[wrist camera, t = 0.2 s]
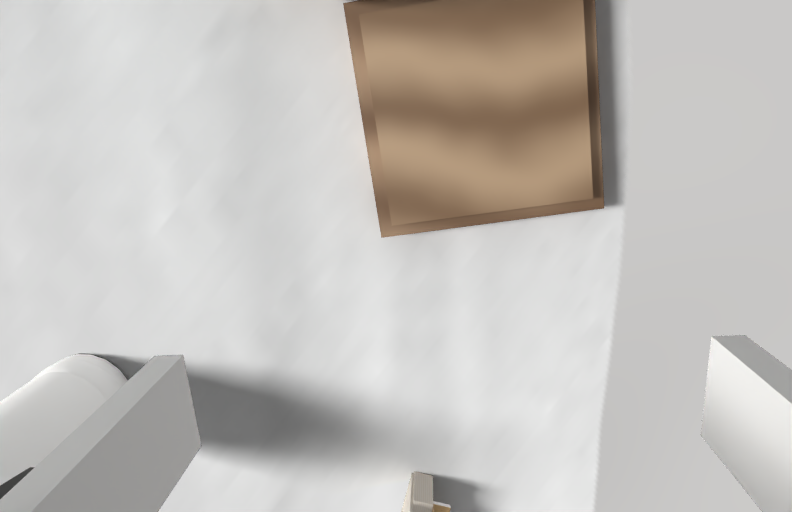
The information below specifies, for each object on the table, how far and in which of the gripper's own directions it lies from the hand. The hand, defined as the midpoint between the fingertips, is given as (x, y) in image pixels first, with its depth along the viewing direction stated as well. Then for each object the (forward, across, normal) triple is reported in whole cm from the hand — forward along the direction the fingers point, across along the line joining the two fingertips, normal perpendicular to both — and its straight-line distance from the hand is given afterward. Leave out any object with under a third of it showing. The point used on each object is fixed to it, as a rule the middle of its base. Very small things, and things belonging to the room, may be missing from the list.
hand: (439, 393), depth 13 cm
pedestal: (+28, +3, +6) cm, 28 cm away
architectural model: (+28, -3, -27) cm, 39 cm away
